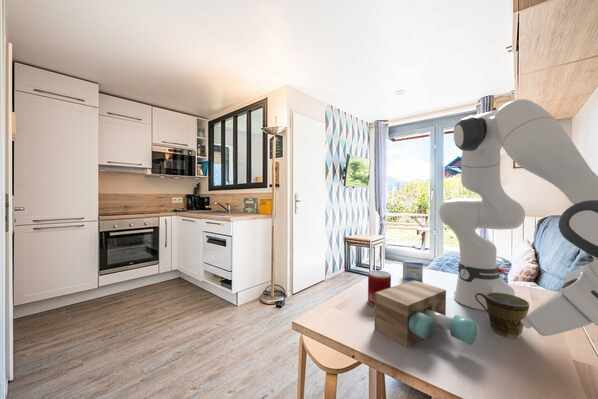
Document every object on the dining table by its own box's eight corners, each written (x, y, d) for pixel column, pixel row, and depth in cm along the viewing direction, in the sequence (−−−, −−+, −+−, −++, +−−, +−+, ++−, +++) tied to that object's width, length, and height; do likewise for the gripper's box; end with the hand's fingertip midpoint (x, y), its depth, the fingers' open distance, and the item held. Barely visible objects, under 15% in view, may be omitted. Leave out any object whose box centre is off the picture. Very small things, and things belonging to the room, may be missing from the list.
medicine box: (404, 280, 118) (405, 262, 118) (402, 277, 123) (402, 259, 123) (422, 281, 117) (423, 262, 117) (419, 278, 122) (420, 260, 121)
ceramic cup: (533, 335, 72) (534, 301, 72) (521, 346, 67) (522, 309, 67) (481, 316, 83) (482, 286, 83) (467, 325, 78) (468, 293, 78)
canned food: (391, 308, 89) (392, 277, 89) (368, 306, 91) (369, 275, 90) (388, 299, 96) (389, 271, 96) (367, 297, 98) (367, 269, 98)
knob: (424, 318, 75) (425, 299, 75) (477, 340, 64) (477, 318, 64) (413, 323, 72) (414, 304, 72) (467, 347, 61) (467, 325, 61)
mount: (413, 311, 86) (413, 280, 86) (460, 331, 74) (461, 294, 74) (374, 328, 75) (375, 292, 75) (422, 355, 63) (423, 312, 63)
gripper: (589, 268, 53) (527, 298, 62) (566, 287, 42) (494, 321, 50) (622, 296, 50) (552, 324, 58) (607, 326, 38) (523, 355, 47)
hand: (525, 323), depth 54 cm, fingers closed
